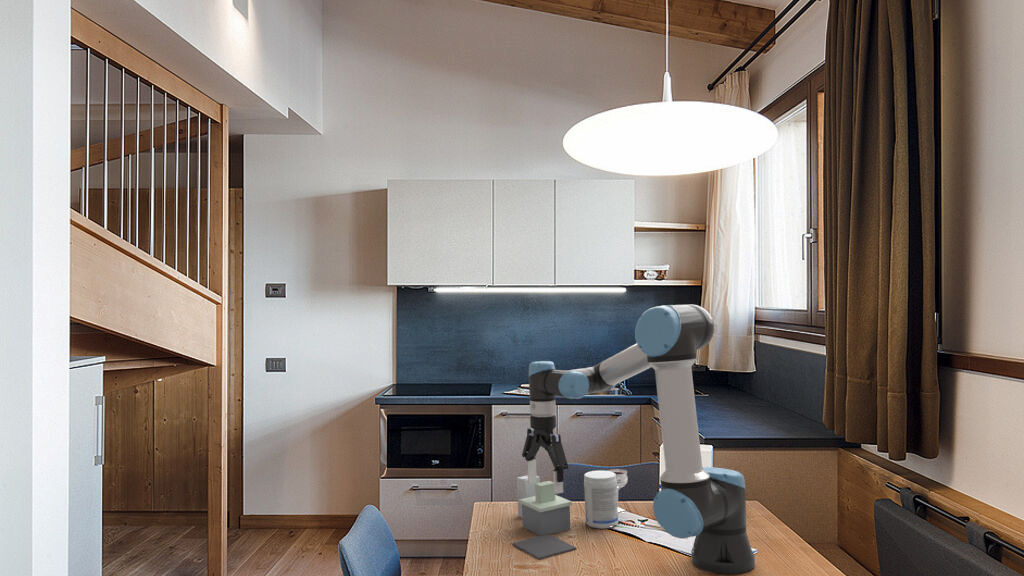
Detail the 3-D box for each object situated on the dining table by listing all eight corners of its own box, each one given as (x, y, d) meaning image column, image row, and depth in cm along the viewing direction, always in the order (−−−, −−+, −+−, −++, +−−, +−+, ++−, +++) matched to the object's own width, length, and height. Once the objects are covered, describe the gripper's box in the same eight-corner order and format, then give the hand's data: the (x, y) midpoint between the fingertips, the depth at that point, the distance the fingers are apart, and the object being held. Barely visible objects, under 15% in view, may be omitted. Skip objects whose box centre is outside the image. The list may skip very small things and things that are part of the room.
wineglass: (623, 515, 210) (622, 475, 210) (603, 511, 214) (602, 473, 214) (631, 508, 216) (630, 470, 216) (611, 505, 219) (610, 468, 219)
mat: (576, 549, 183) (576, 547, 183) (539, 559, 177) (539, 557, 177) (548, 535, 194) (548, 533, 194) (512, 544, 188) (512, 542, 188)
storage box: (570, 529, 199) (569, 504, 199) (541, 536, 194) (541, 511, 194) (550, 520, 207) (549, 496, 207) (522, 526, 202) (521, 502, 202)
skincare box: (532, 512, 215) (531, 473, 216) (541, 515, 212) (540, 476, 212) (517, 516, 212) (515, 476, 212) (526, 520, 208) (524, 479, 208)
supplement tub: (625, 523, 202) (623, 473, 202) (604, 532, 196) (603, 480, 196) (599, 516, 209) (597, 468, 209) (578, 524, 203) (577, 474, 203)
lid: (572, 507, 199) (571, 484, 199) (540, 515, 193) (539, 490, 193) (550, 498, 208) (549, 476, 208) (519, 505, 202) (518, 482, 202)
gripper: (509, 410, 209) (511, 480, 209) (557, 422, 188) (559, 500, 188) (530, 407, 213) (532, 476, 213) (579, 419, 192) (581, 495, 192)
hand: (545, 487), depth 201 cm, fingers open, 13 cm apart
